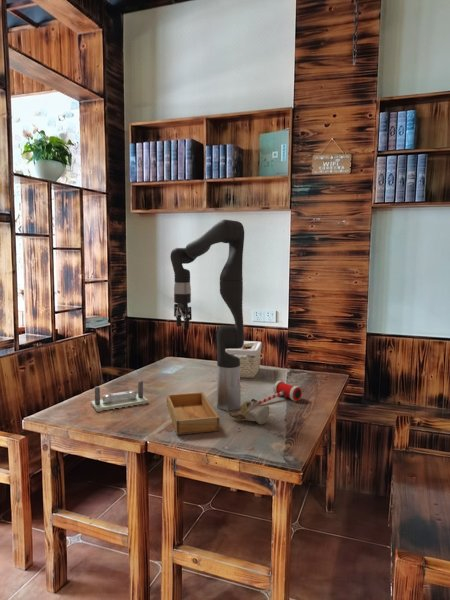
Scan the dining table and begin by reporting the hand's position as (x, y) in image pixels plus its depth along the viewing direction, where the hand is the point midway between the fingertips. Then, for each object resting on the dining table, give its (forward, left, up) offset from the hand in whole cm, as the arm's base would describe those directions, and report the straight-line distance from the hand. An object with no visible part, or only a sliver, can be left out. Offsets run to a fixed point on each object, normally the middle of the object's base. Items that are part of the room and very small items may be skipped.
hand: (182, 327), depth 208 cm
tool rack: (-8, +32, -28) cm, 43 cm away
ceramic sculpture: (-49, -6, -28) cm, 57 cm away
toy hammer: (-35, -29, -29) cm, 54 cm away
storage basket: (+10, -39, -28) cm, 49 cm away
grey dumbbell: (-8, +32, -27) cm, 42 cm away
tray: (-36, +13, -29) cm, 48 cm away
